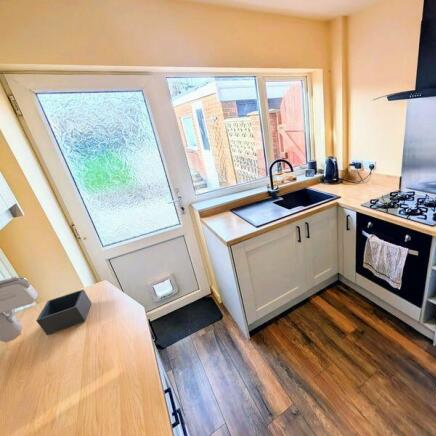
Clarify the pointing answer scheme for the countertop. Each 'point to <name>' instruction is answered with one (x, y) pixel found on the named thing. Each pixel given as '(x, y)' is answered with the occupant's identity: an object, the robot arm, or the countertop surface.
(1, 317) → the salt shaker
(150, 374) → the countertop surface
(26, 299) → the robot arm
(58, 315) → the bin
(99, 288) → the countertop surface
